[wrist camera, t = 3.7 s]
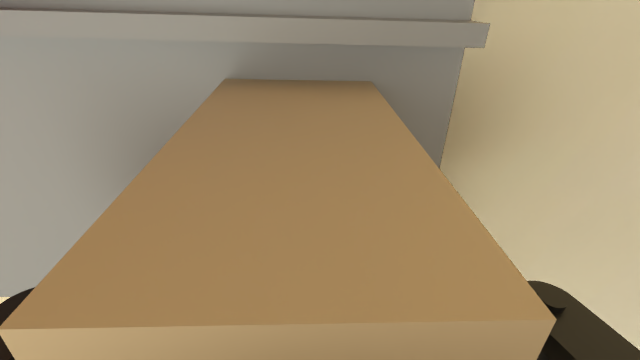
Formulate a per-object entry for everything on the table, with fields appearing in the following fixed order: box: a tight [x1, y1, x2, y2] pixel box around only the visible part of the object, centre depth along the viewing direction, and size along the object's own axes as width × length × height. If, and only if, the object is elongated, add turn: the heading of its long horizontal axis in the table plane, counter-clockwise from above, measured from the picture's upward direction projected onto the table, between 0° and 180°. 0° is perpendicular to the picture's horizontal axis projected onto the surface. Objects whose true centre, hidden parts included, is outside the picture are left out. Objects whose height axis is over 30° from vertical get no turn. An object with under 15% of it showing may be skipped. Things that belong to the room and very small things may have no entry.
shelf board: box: [0, 0, 490, 297], centre depth 10 cm, size 20×18×4 cm
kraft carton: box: [0, 79, 557, 360], centre depth 9 cm, size 5×8×9 cm, turn 178°
